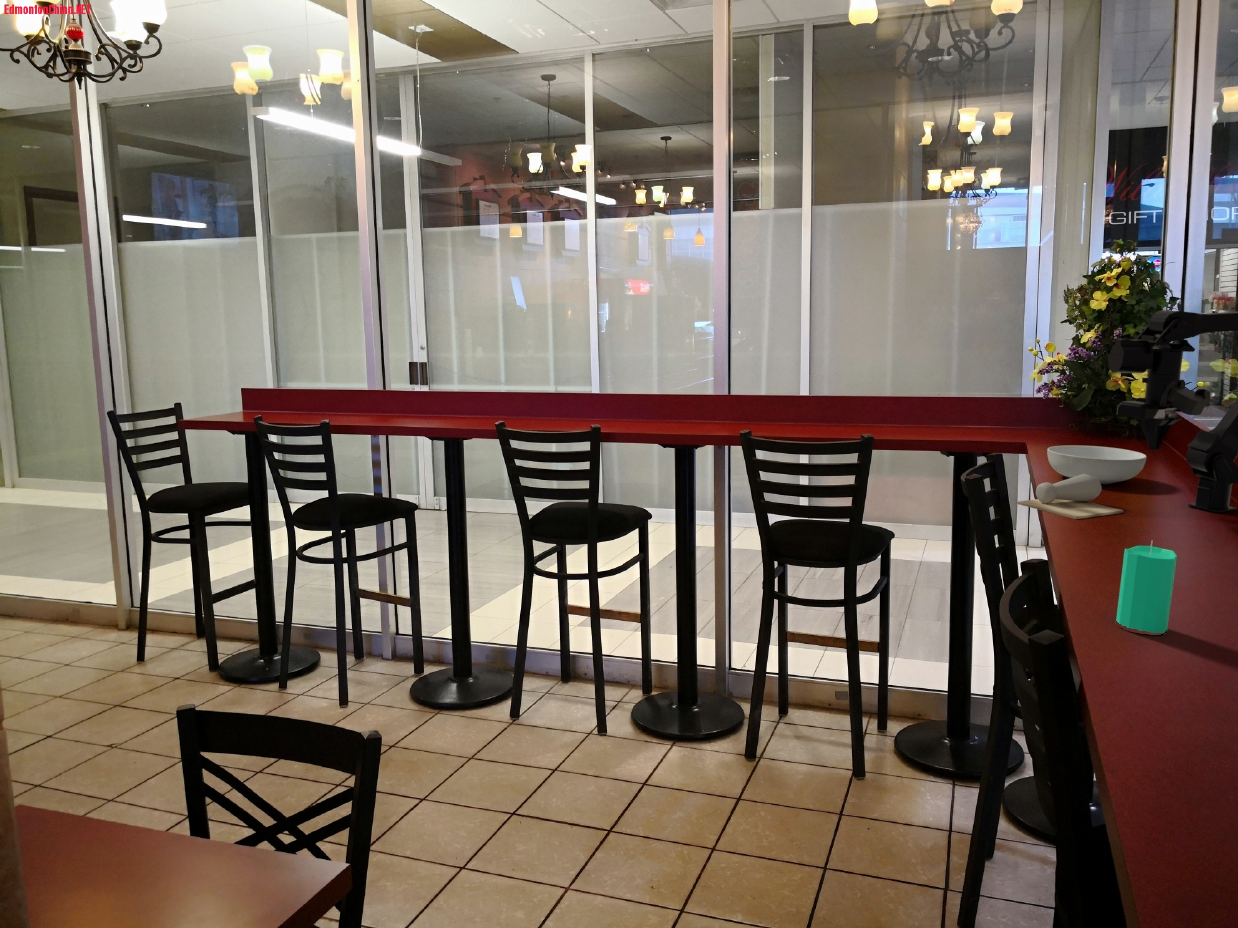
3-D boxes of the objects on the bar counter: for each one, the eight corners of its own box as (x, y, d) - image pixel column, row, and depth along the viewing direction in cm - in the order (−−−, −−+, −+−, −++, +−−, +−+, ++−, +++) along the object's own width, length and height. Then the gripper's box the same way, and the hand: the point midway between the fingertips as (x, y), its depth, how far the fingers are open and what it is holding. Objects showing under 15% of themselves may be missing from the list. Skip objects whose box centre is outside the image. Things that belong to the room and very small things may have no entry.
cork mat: (1063, 498, 206) (1063, 495, 206) (1123, 512, 194) (1123, 510, 194) (1017, 503, 200) (1017, 501, 200) (1075, 519, 187) (1076, 516, 187)
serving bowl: (1121, 473, 236) (1124, 445, 234) (1159, 491, 215) (1162, 461, 214) (1032, 470, 238) (1035, 442, 236) (1062, 487, 217) (1065, 457, 216)
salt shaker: (1106, 500, 198) (1051, 508, 195) (1086, 500, 204) (1033, 507, 201) (1103, 472, 198) (1048, 479, 195) (1083, 472, 204) (1030, 479, 201)
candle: (1150, 620, 131) (1161, 534, 129) (1176, 636, 125) (1188, 546, 123) (1106, 619, 131) (1117, 534, 128) (1131, 635, 125) (1142, 546, 123)
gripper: (1173, 379, 182) (1162, 460, 185) (1232, 376, 191) (1221, 454, 194) (1119, 373, 192) (1110, 450, 195) (1178, 371, 200) (1168, 445, 203)
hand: (1154, 450), depth 196 cm, fingers closed
